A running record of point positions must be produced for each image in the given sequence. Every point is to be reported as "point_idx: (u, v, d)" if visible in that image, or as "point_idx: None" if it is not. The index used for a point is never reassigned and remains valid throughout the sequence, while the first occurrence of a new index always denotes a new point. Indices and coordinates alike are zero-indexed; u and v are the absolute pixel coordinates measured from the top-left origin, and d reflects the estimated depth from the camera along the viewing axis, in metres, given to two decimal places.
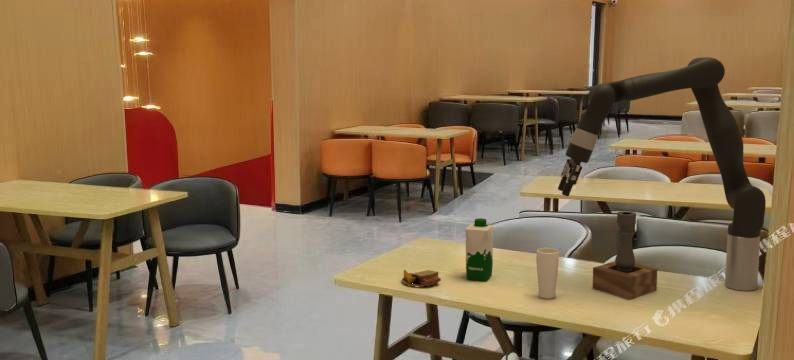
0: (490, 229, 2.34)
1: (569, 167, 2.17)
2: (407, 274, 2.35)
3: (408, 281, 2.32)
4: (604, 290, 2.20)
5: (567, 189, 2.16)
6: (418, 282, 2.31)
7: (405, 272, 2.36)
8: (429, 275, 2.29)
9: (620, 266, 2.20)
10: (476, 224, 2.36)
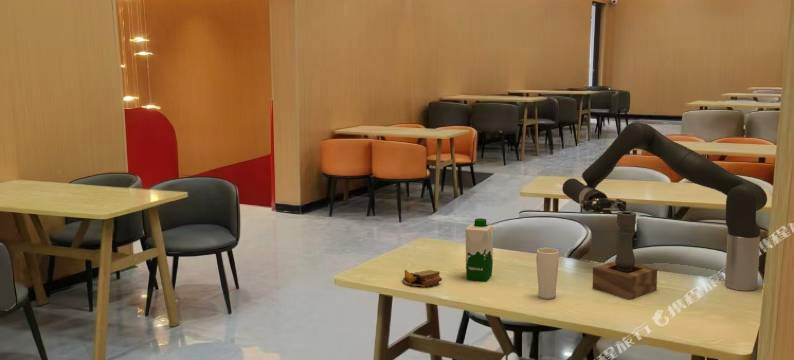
0: (490, 229, 2.34)
1: None
2: (408, 273, 2.35)
3: (409, 281, 2.32)
4: (604, 290, 2.20)
5: (593, 209, 2.31)
6: (419, 282, 2.31)
7: (406, 272, 2.36)
8: (430, 275, 2.29)
9: (620, 266, 2.20)
10: (476, 224, 2.36)
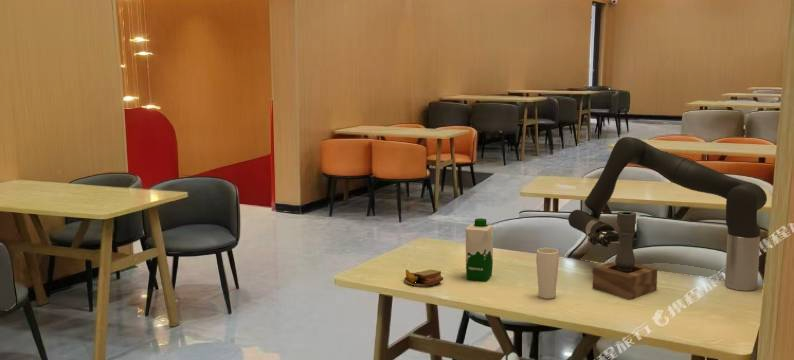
0: (490, 229, 2.34)
1: None
2: (409, 273, 2.36)
3: (411, 281, 2.32)
4: (604, 290, 2.20)
5: (601, 243, 2.27)
6: (421, 281, 2.32)
7: (407, 272, 2.36)
8: (432, 274, 2.30)
9: (620, 266, 2.20)
10: (476, 224, 2.36)
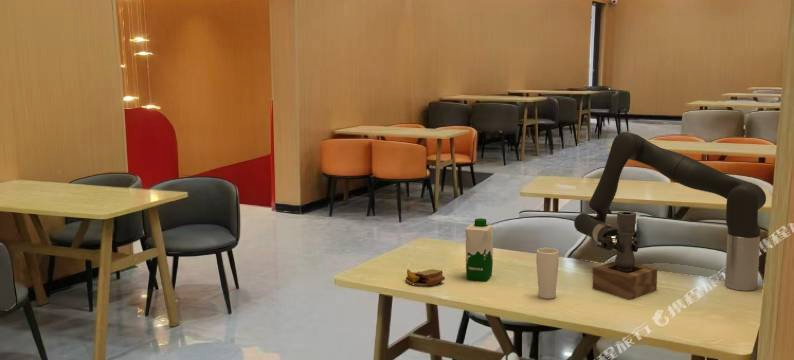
0: (490, 229, 2.34)
1: None
2: (410, 273, 2.36)
3: (413, 280, 2.33)
4: (604, 290, 2.20)
5: (616, 248, 2.19)
6: (423, 281, 2.32)
7: (409, 271, 2.36)
8: (434, 274, 2.30)
9: (620, 266, 2.20)
10: (476, 224, 2.36)
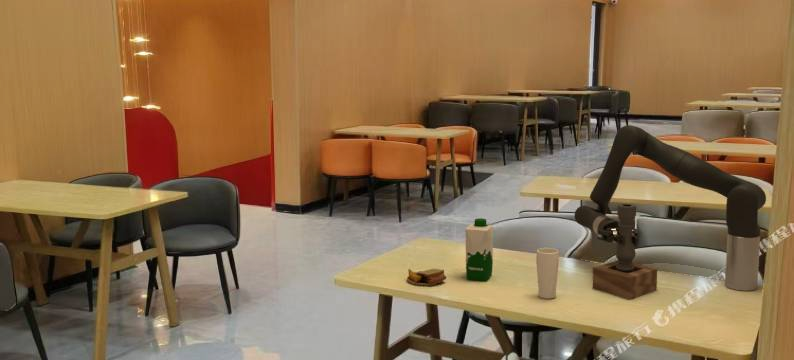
0: (490, 229, 2.34)
1: None
2: (412, 273, 2.36)
3: (414, 280, 2.33)
4: (604, 290, 2.20)
5: (616, 240, 2.19)
6: (424, 281, 2.33)
7: (410, 271, 2.37)
8: (436, 273, 2.31)
9: (620, 258, 2.19)
10: (476, 224, 2.36)
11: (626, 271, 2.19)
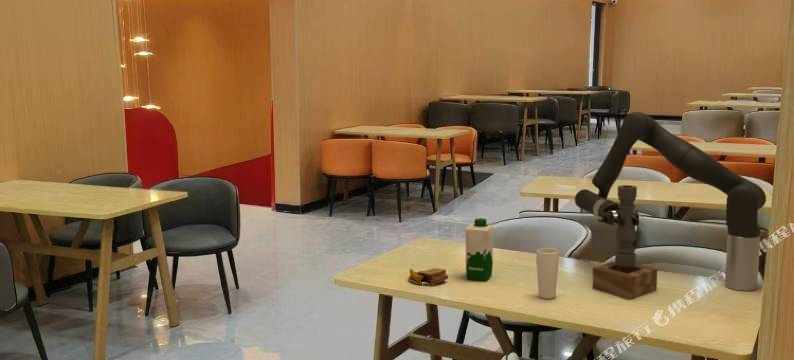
0: (490, 229, 2.34)
1: None
2: (413, 272, 2.36)
3: (416, 280, 2.33)
4: (604, 290, 2.20)
5: (617, 222, 2.18)
6: (426, 280, 2.33)
7: (411, 271, 2.37)
8: (438, 273, 2.31)
9: (621, 240, 2.18)
10: (476, 224, 2.36)
11: (627, 253, 2.18)
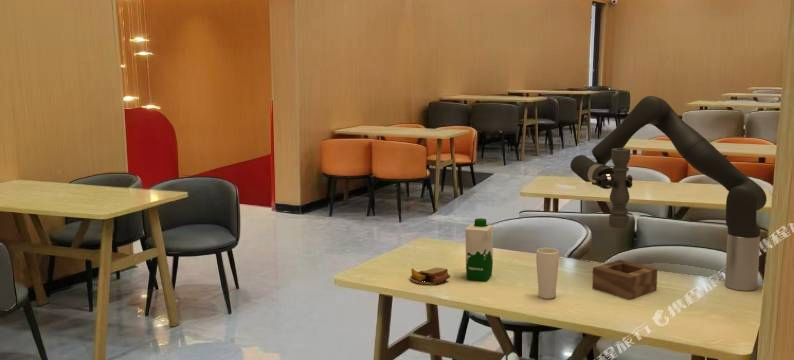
0: (490, 229, 2.34)
1: None
2: (415, 272, 2.37)
3: (418, 279, 2.34)
4: (604, 290, 2.20)
5: (611, 184, 2.22)
6: (428, 280, 2.33)
7: (413, 271, 2.37)
8: (440, 272, 2.32)
9: (614, 202, 2.22)
10: (476, 224, 2.36)
11: (620, 215, 2.22)
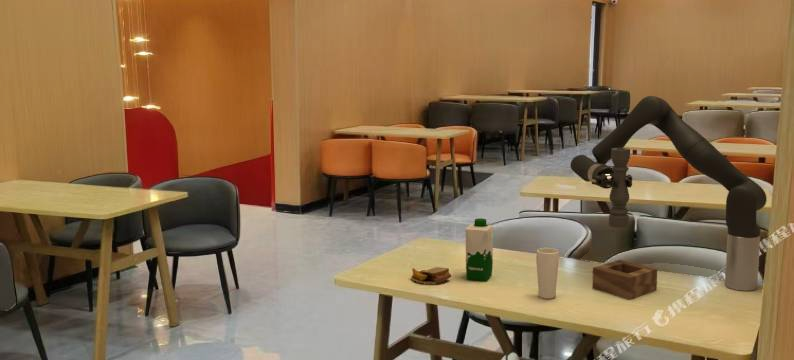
0: (490, 229, 2.34)
1: None
2: (416, 272, 2.37)
3: (420, 279, 2.34)
4: (604, 290, 2.20)
5: (610, 184, 2.22)
6: (430, 279, 2.34)
7: (414, 270, 2.38)
8: (441, 272, 2.33)
9: (614, 201, 2.22)
10: (476, 224, 2.36)
11: (620, 214, 2.22)
